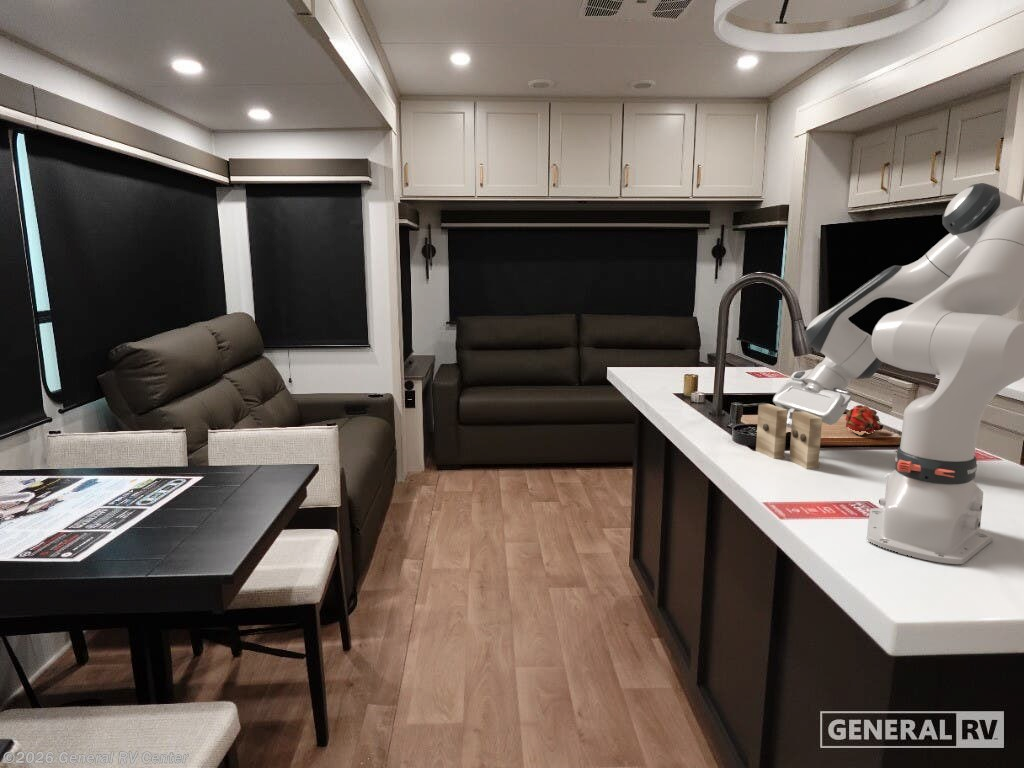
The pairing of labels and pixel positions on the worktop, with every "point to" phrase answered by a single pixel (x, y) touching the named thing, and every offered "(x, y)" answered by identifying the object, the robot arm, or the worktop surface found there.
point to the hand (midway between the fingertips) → (788, 426)
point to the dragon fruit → (863, 419)
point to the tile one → (771, 430)
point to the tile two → (805, 439)
